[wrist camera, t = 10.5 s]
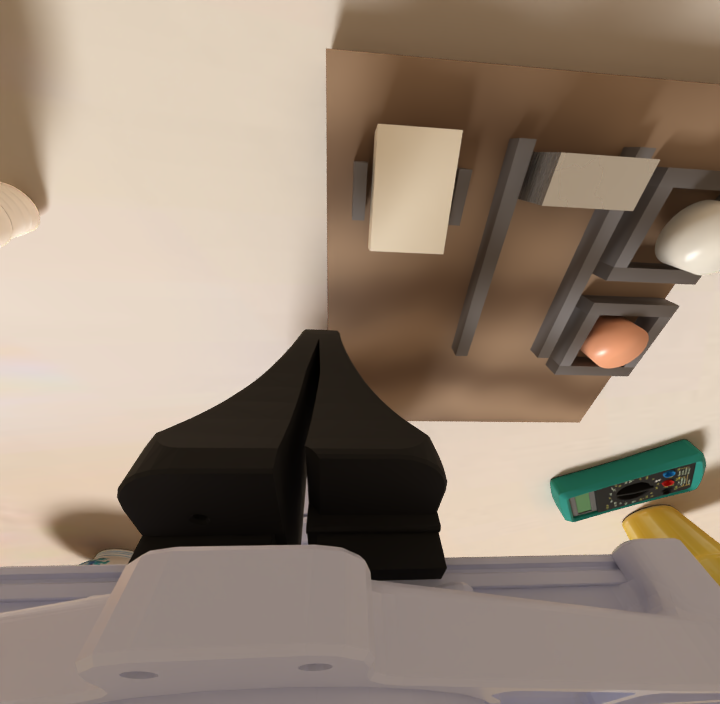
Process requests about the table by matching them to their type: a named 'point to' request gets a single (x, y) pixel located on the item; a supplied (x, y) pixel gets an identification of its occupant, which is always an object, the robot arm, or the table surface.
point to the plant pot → (675, 534)
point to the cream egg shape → (692, 239)
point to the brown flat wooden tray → (506, 232)
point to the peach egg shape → (614, 341)
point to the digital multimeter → (629, 481)
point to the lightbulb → (16, 214)
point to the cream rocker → (412, 188)
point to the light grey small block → (586, 180)
